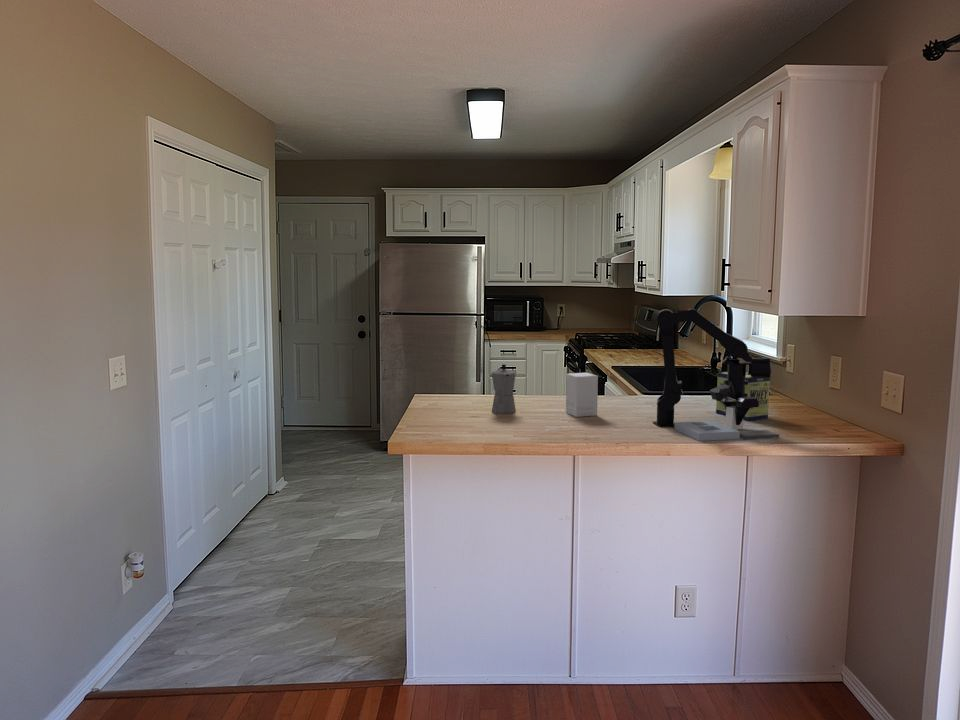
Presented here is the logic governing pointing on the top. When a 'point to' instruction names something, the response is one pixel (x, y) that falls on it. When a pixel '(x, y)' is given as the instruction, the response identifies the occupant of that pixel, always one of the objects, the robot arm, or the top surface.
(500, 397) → the coffeepot
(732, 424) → the charger
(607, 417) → the top surface
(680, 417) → the top surface
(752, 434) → the phone
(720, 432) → the plate
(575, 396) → the supplement box
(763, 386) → the protein box
